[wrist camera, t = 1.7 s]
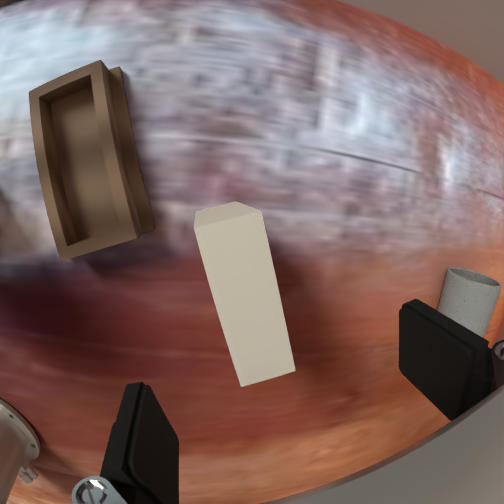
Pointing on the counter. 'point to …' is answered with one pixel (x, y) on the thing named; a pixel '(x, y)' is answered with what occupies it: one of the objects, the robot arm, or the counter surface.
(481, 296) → the ceramic mug
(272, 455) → the counter surface
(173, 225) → the counter surface
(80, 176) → the brown wooden tray
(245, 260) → the rectangular block
